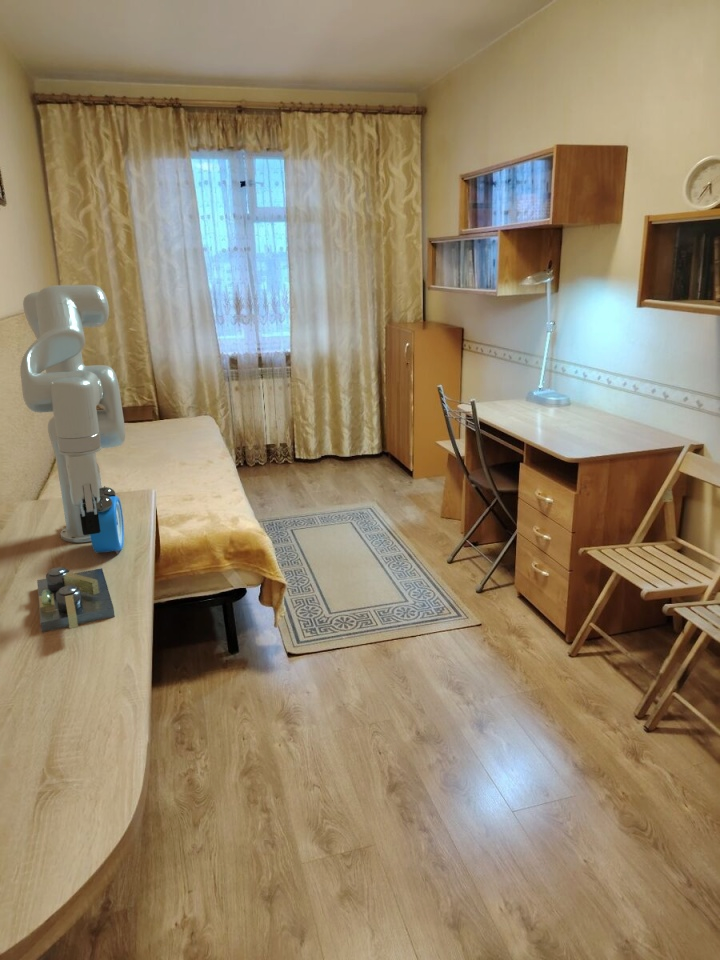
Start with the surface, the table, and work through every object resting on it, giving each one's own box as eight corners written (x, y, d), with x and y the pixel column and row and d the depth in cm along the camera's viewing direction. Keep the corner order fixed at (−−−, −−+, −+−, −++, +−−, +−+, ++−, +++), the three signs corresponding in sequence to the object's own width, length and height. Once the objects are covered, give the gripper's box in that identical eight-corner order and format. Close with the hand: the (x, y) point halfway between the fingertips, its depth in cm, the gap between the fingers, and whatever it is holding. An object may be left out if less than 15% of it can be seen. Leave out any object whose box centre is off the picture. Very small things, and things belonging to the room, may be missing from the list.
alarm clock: (120, 559, 157) (113, 499, 152) (92, 562, 155) (84, 501, 151) (125, 538, 169) (119, 482, 164) (99, 541, 168) (92, 484, 163)
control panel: (38, 588, 143) (35, 569, 141) (103, 576, 148) (100, 558, 147) (41, 632, 126) (38, 611, 124) (114, 616, 131) (112, 596, 130)
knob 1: (43, 588, 138) (40, 572, 137) (60, 580, 141) (58, 564, 140) (88, 601, 132) (85, 584, 131) (105, 591, 136) (103, 575, 135)
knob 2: (57, 603, 132) (54, 586, 131) (81, 598, 134) (79, 582, 132) (61, 633, 121) (58, 615, 120) (87, 627, 123) (84, 610, 122)
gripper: (55, 436, 132) (68, 523, 138) (60, 455, 120) (74, 549, 125) (96, 432, 136) (106, 517, 141) (105, 450, 123) (116, 542, 128)
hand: (91, 532), depth 133 cm, fingers closed
